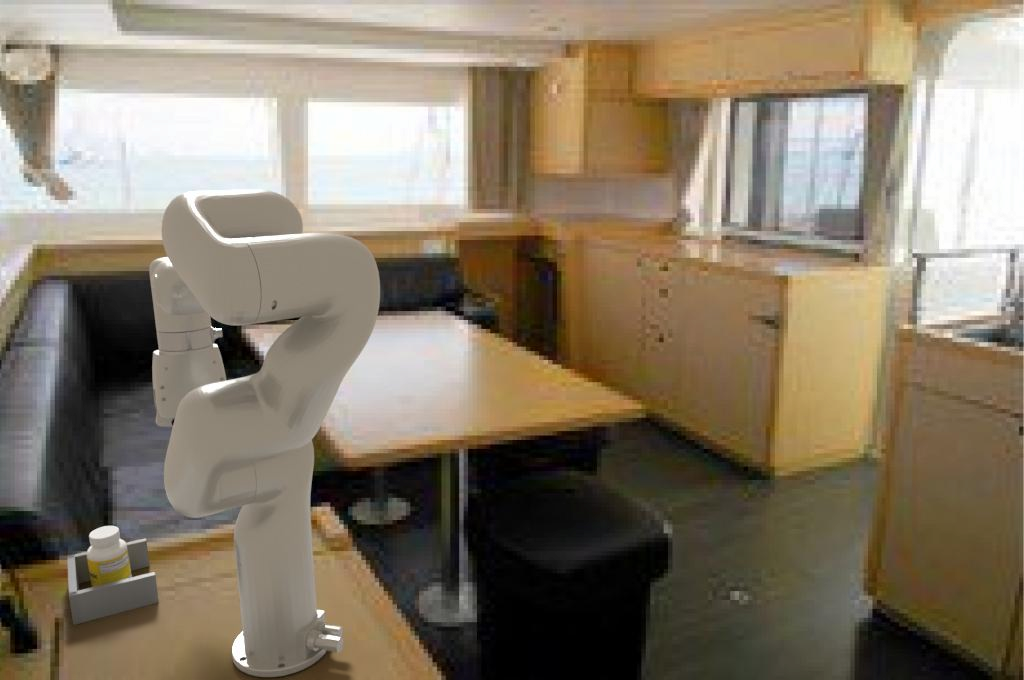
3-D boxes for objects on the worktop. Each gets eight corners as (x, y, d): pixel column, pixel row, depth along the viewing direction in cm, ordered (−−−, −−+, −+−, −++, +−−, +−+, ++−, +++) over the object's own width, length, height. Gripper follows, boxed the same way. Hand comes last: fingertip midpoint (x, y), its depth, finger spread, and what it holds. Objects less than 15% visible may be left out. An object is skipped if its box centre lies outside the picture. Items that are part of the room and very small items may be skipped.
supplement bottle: (92, 586, 117) (83, 528, 114) (132, 576, 119) (124, 519, 117) (92, 604, 112) (83, 544, 110) (133, 594, 115) (125, 535, 112)
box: (149, 563, 124) (145, 538, 122) (158, 602, 113) (155, 574, 112) (71, 582, 118) (67, 555, 117) (73, 625, 107) (68, 596, 106)
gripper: (232, 330, 120) (243, 440, 124) (127, 342, 113) (142, 459, 117) (243, 338, 114) (254, 454, 118) (132, 351, 107) (148, 475, 110)
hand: (199, 456), depth 117 cm, fingers closed
